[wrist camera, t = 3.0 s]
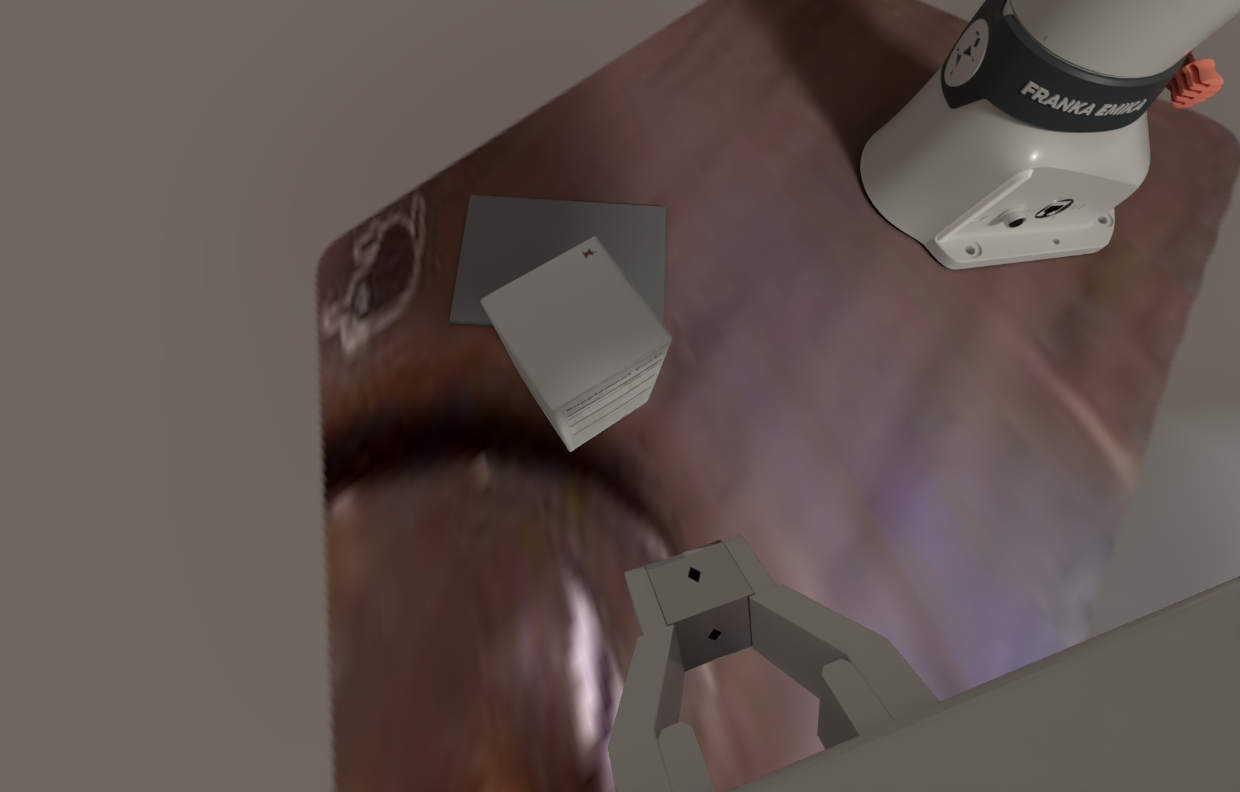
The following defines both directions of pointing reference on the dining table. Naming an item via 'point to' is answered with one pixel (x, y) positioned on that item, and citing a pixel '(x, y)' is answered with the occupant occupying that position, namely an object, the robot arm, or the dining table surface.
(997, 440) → the dining table surface
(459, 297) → the mat
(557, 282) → the supplement box
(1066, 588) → the dining table surface
